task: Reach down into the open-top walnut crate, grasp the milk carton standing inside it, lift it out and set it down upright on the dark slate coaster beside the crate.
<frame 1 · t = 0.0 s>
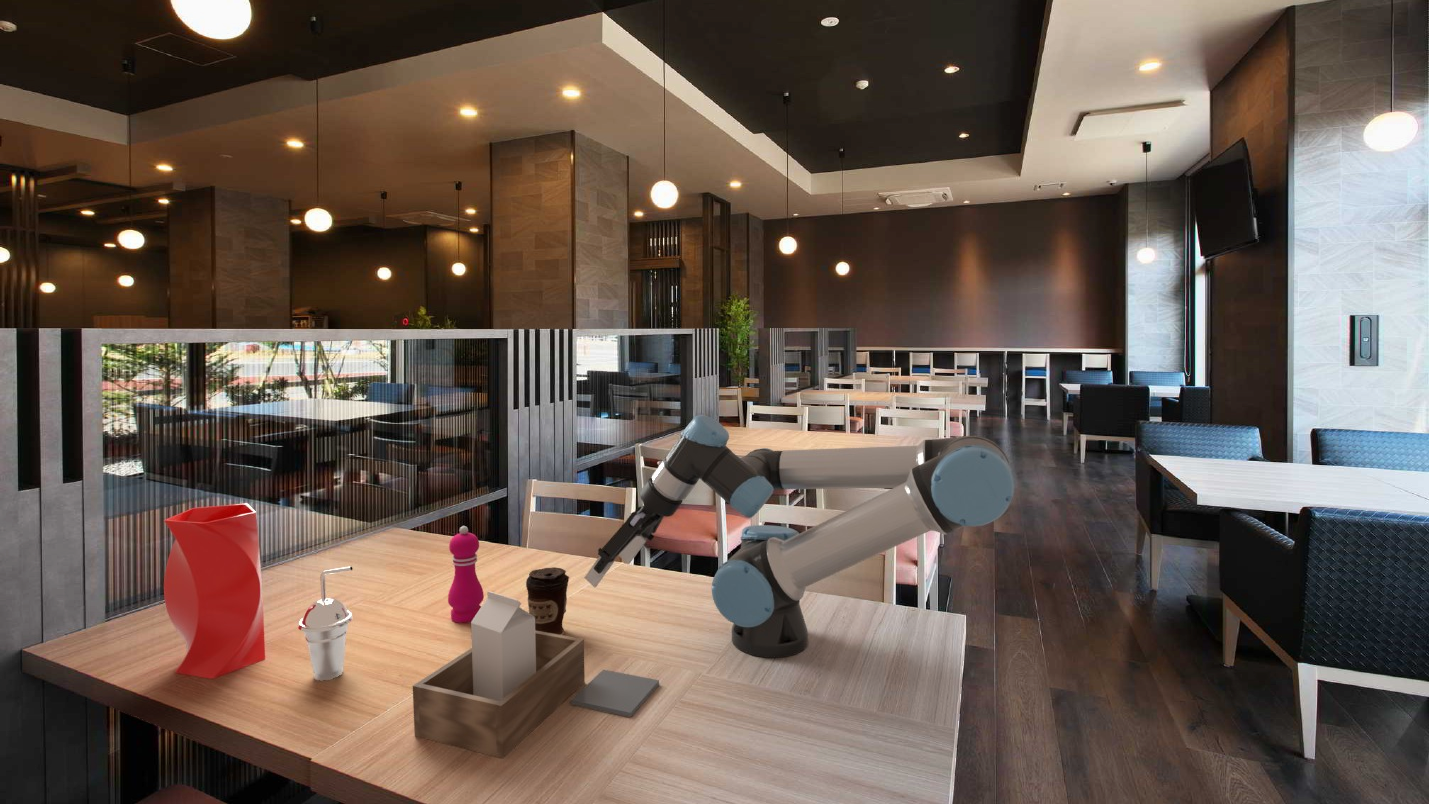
hand: (608, 570, 134), 15 cm above the table, tool tilted 35°, fingers open, 13 cm apart
pepper mill: (466, 617, 149), on the table
coaster: (616, 694, 118), on the table
crate: (505, 707, 114), on the table
coffee cup: (548, 635, 141), on the table
milk carton: (505, 708, 114), resting in crate
vase: (228, 659, 130), on the table
cup with straw: (329, 675, 124), on the table
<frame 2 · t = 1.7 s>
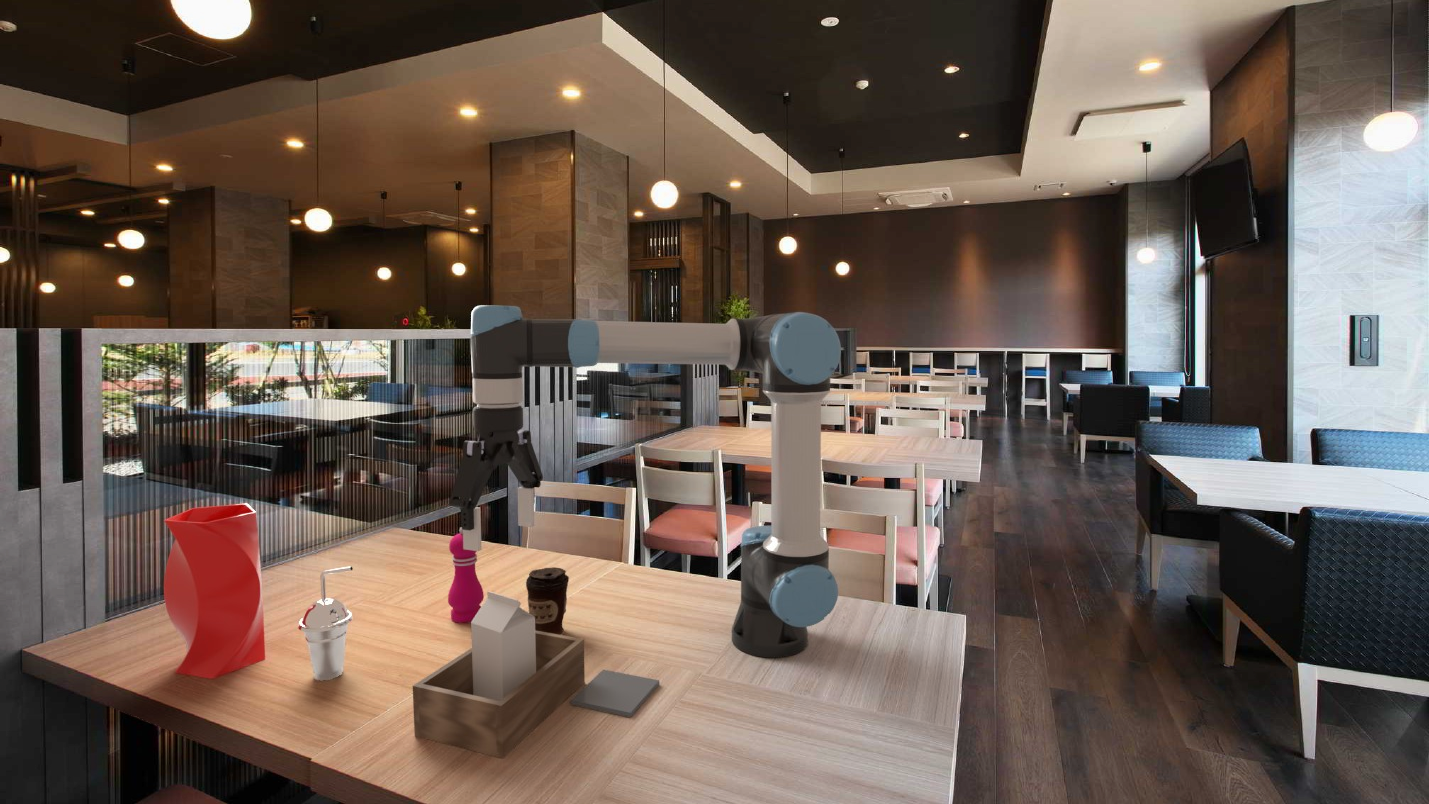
hand: (500, 537, 111), 29 cm above the table, tool pointing down, fingers open, 13 cm apart
nothing on the table moved.
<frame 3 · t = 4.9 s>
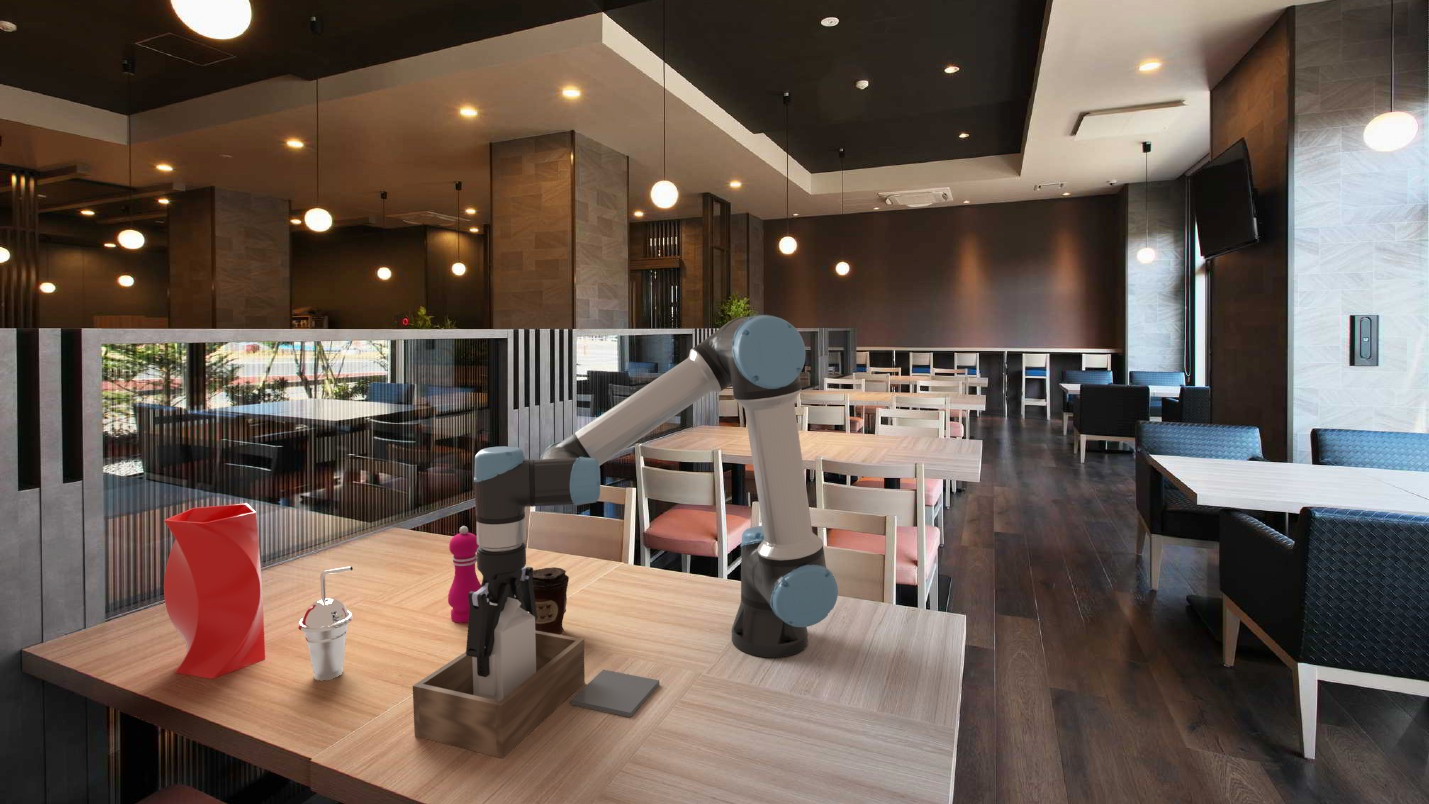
hand: (504, 679, 113), 5 cm above the table, tool pointing down, fingers closed on milk carton, 8 cm apart
milk carton: (505, 708, 114), resting in crate, touching gripper
everything else where it was.
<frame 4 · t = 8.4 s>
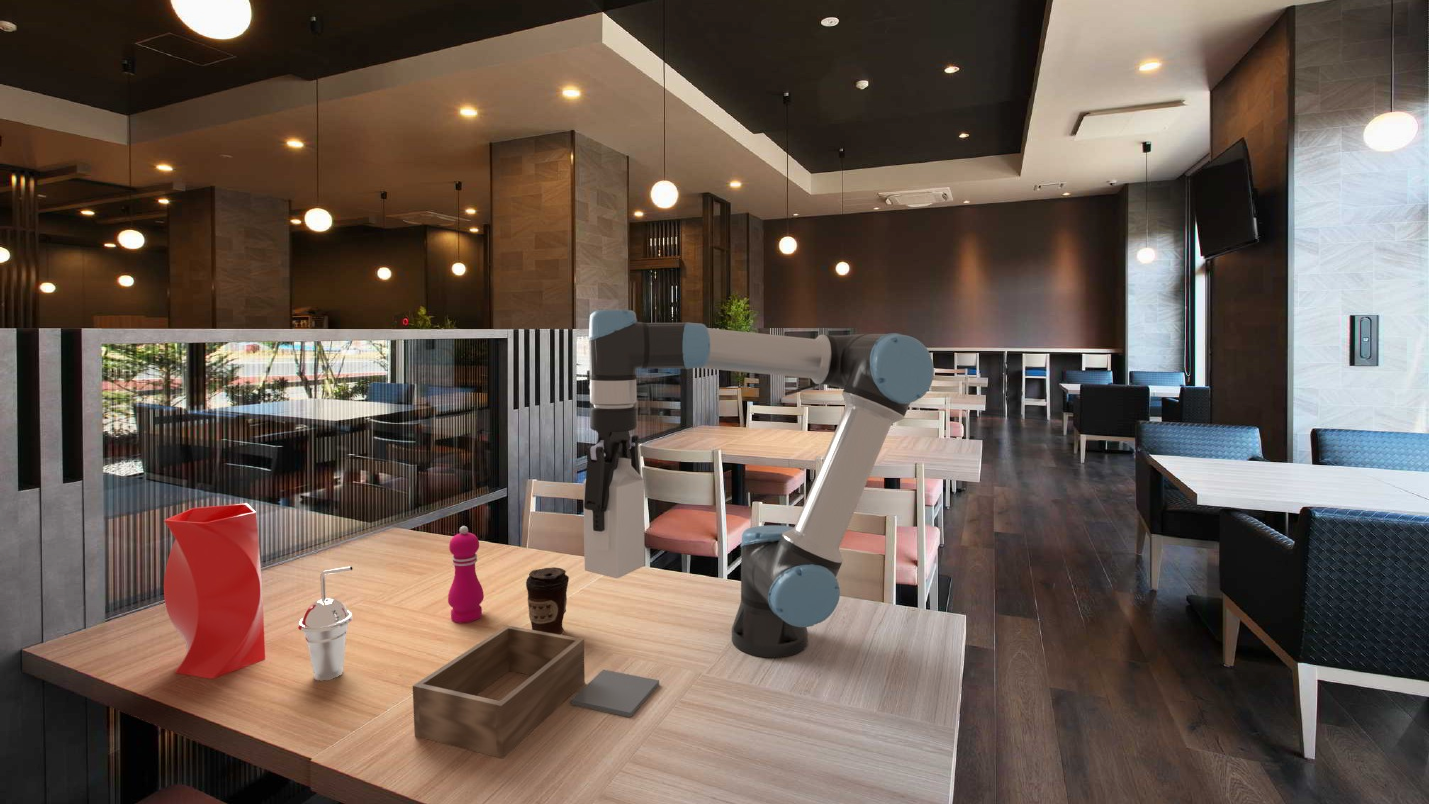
hand: (614, 541, 115), 27 cm above the table, tool pointing down, fingers closed on milk carton, 8 cm apart
milk carton: (614, 570, 116), point 22 cm above the table, touching gripper
everything else where it was.
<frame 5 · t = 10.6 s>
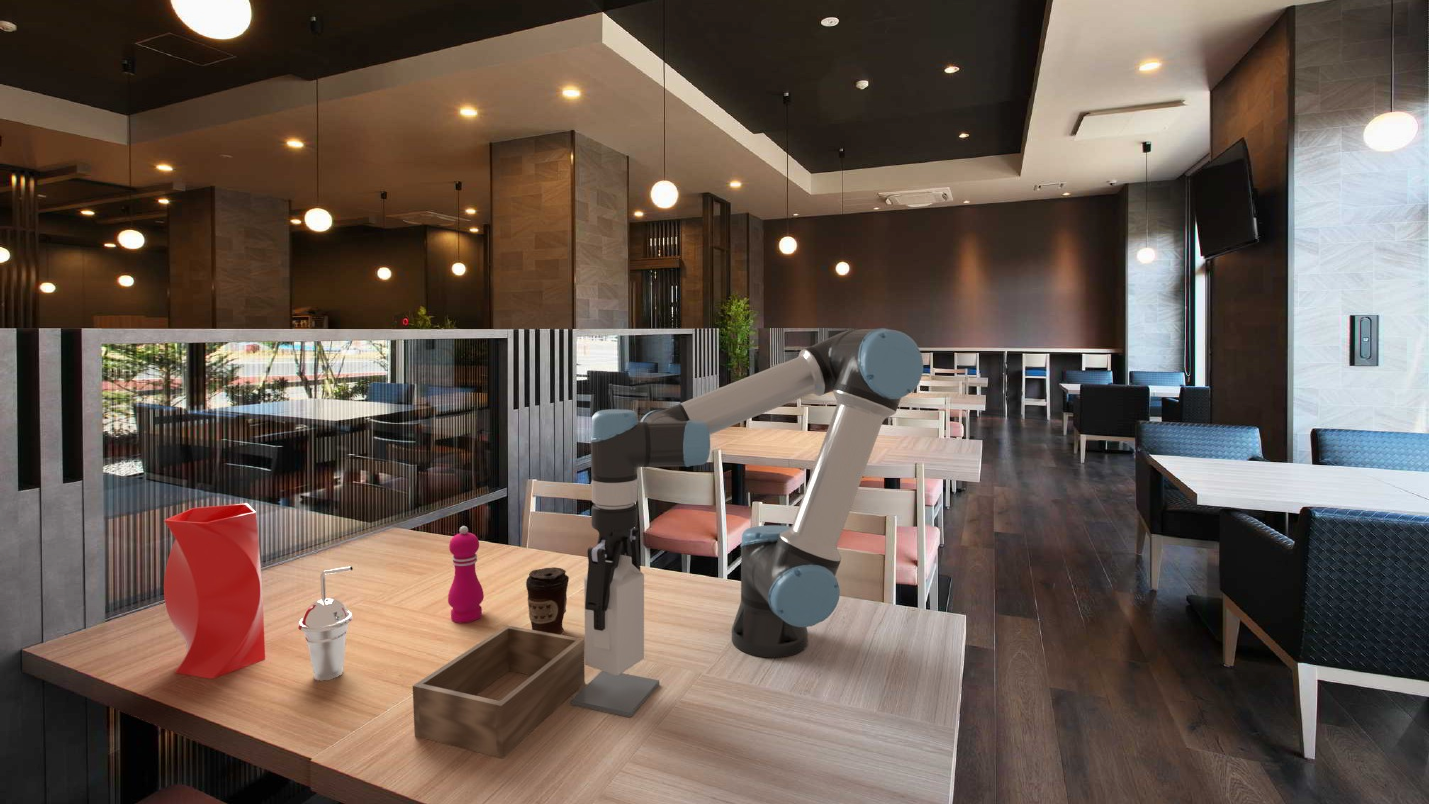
hand: (614, 635, 117), 10 cm above the table, tool pointing down, fingers closed on milk carton, 8 cm apart
milk carton: (614, 663, 118), point 5 cm above the table, touching gripper
everything else where it was.
when the fingers open (6 cm above the table, at t = 12.3 s): milk carton stays where it is, resting on coaster.
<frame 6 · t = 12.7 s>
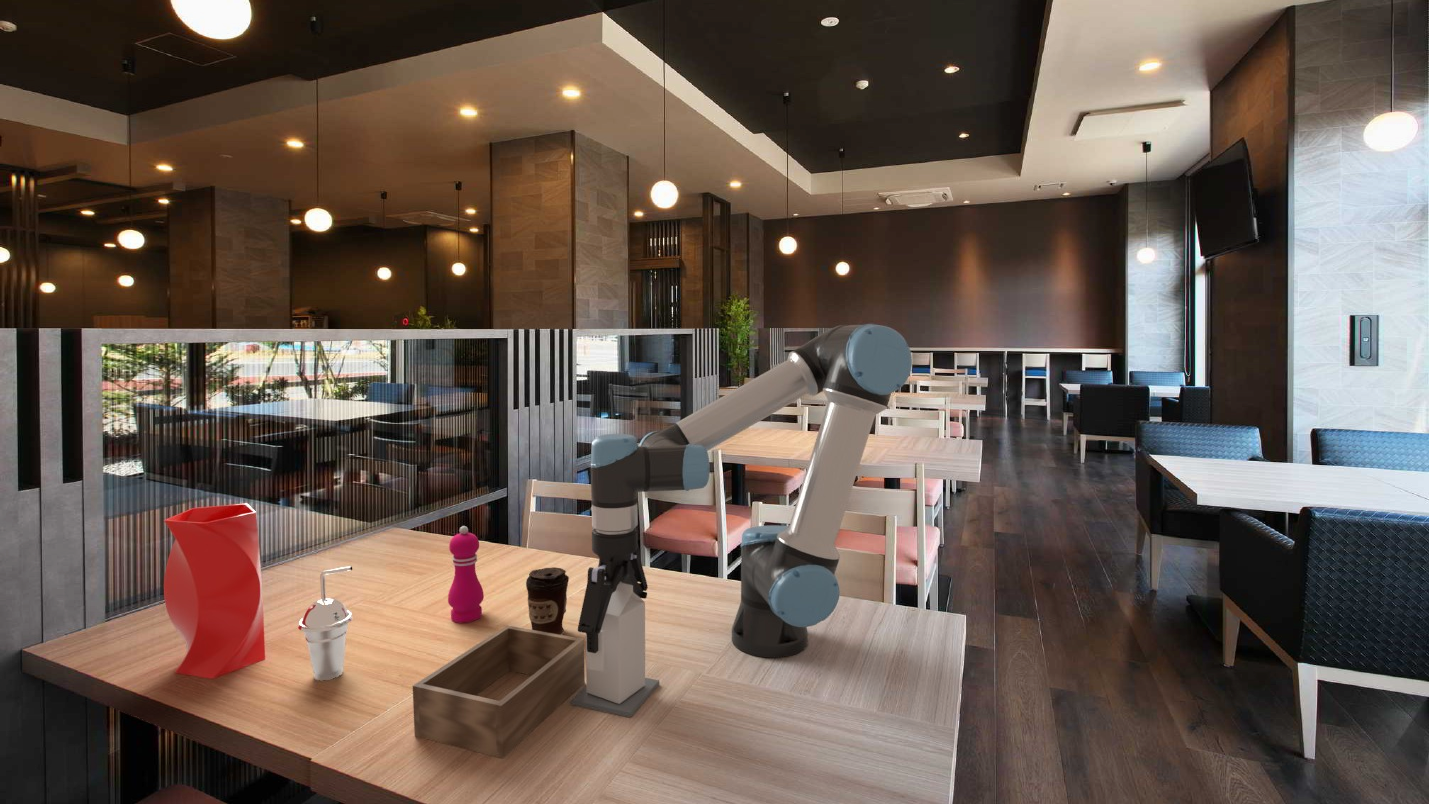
hand: (615, 651, 117), 8 cm above the table, tool pointing down, fingers open, 13 cm apart
milk carton: (616, 691, 118), point 1 cm above the table, touching coaster
everything else where it was.
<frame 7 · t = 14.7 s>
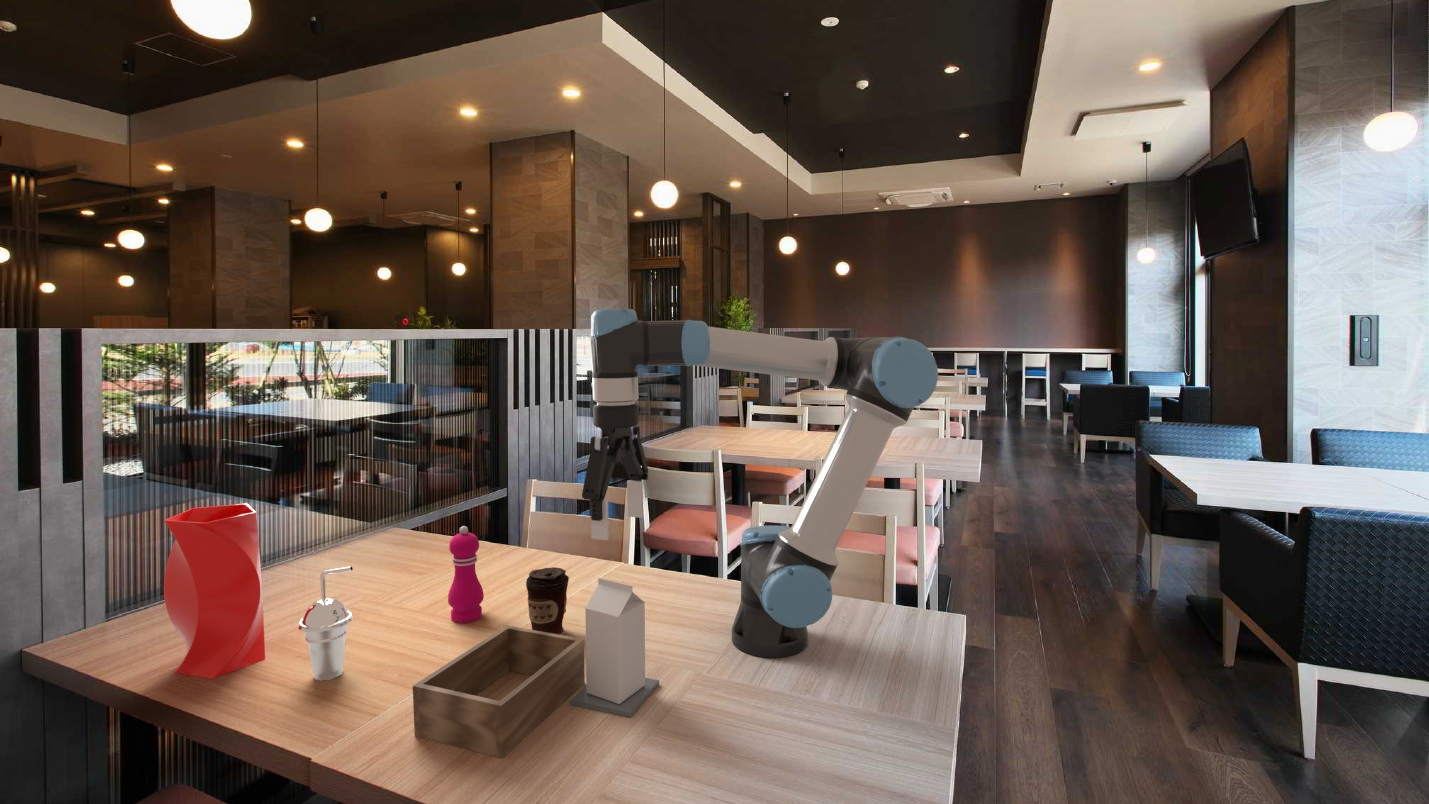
hand: (618, 527, 118), 28 cm above the table, tool pointing down, fingers open, 13 cm apart
nothing on the table moved.
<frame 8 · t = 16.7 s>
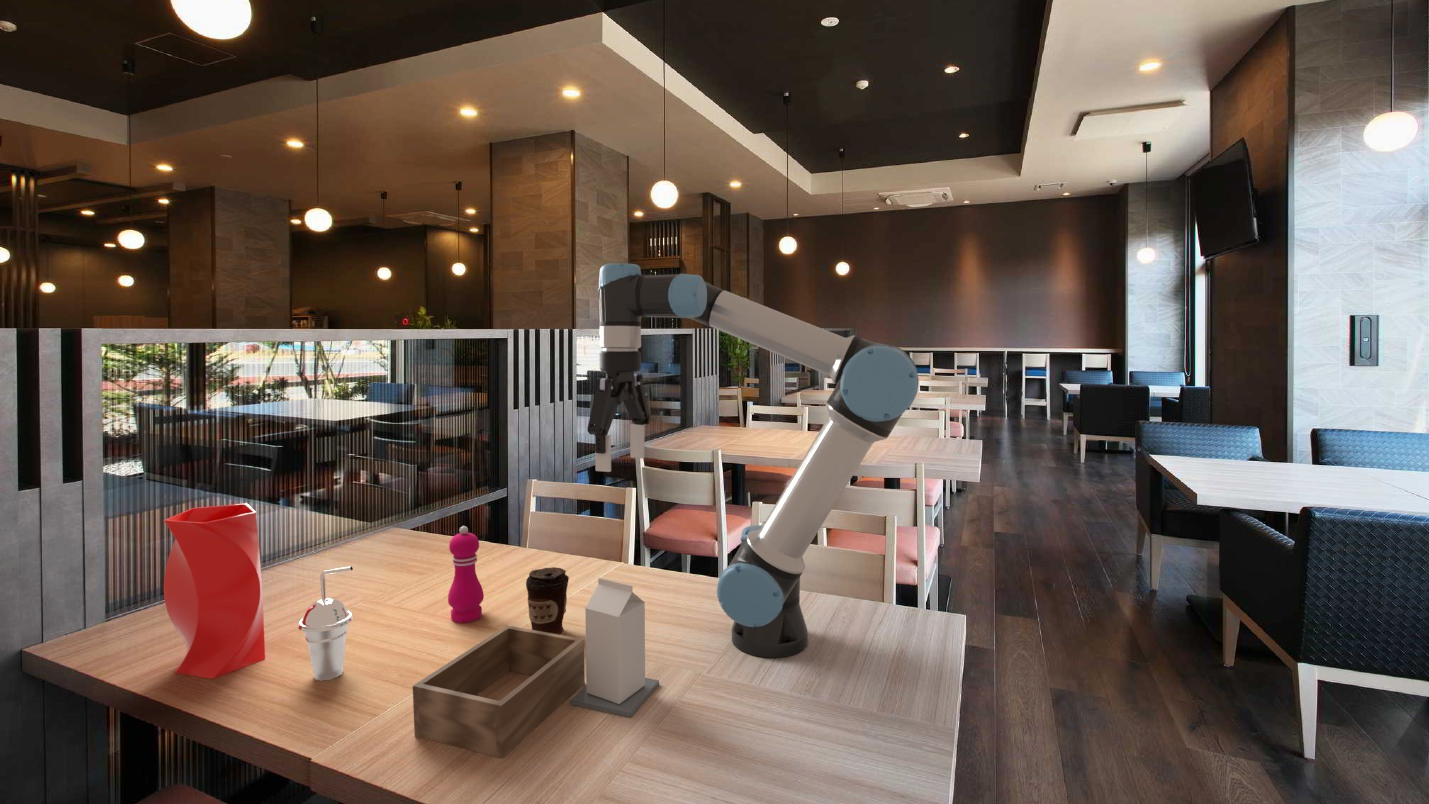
hand: (621, 464, 129), 37 cm above the table, tool pointing down, fingers open, 13 cm apart
nothing on the table moved.
at the end: milk carton inside the target area on the coaster (0.0 cm from its centre), point 0.6 cm above the coaster's base; milk carton tilted 0°; the gripper is holding nothing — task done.
